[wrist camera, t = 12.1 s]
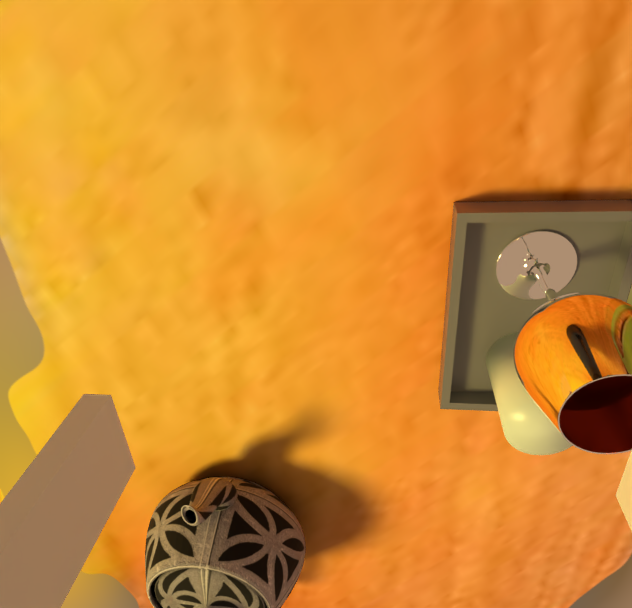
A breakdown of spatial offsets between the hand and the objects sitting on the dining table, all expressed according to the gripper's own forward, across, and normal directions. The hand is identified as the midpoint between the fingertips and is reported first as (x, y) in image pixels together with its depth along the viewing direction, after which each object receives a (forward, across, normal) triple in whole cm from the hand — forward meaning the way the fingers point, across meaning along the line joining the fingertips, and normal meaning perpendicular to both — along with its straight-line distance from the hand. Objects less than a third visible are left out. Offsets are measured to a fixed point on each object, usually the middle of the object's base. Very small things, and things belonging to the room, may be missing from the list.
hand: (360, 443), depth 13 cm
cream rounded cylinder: (+31, +13, -20) cm, 39 cm away
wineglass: (+31, +13, -10) cm, 35 cm away
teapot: (+32, -18, -45) cm, 58 cm away
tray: (+32, +13, -15) cm, 37 cm away
